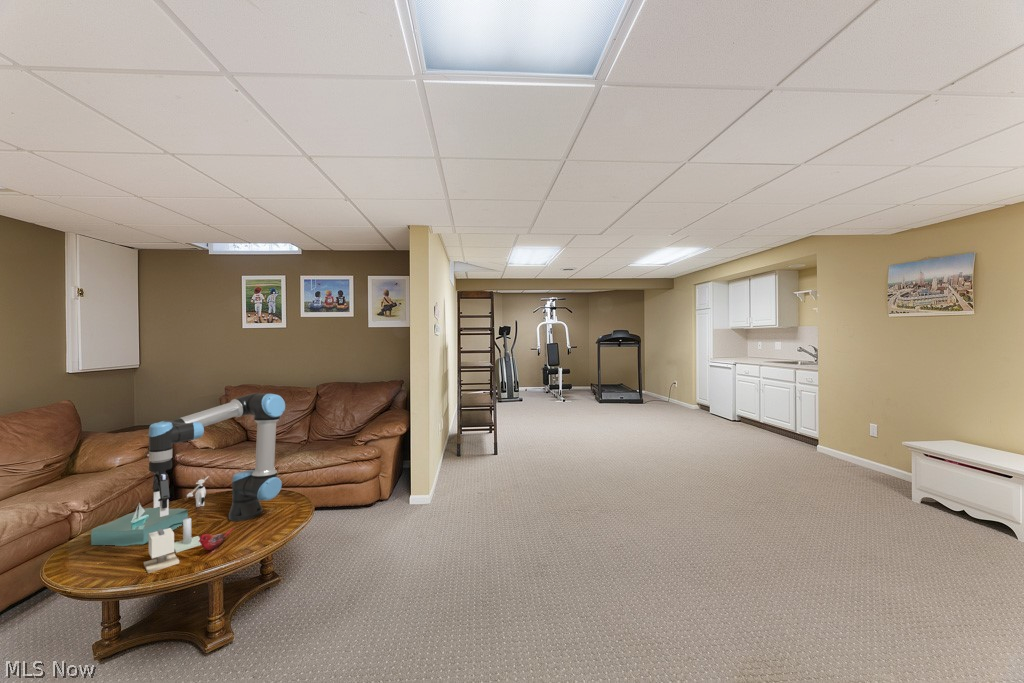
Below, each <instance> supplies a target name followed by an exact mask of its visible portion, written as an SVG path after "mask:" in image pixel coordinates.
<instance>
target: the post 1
mask: <svg viewBox="0 0 1024 683" xmlns="http://www.w3.org/2000/svg"><path fill="white" fill-rule="evenodd" d="M178 564H180V559H179V558H178V556H177V555H176V553H175V552H172V553H169V554H166V555H162V556H159V557H156V558H151V559H150V560H147V561H146V560H145V561H143V566H144V568H145V570H146V573H147V574H150V573H153V572H157V571H160V570H164V569H165V568H169V567H172V566H176V565H178Z"/></svg>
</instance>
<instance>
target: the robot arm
mask: <svg viewBox="0 0 1024 683" xmlns="http://www.w3.org/2000/svg"><path fill="white" fill-rule="evenodd" d="M285 411H286V402H285V400H284V399H283V397H282V396H281V395H279V394H276V393H275V394H274V393H263V392H254V393H249V394H246V395H243V396H239V397H237V398H233V399H231V400H230V401H229V402H227V403H224V404H220V405H216V406H213V407H211V408H208V409H205V410H202V411H199V412H195V413H192V414H188V415H185V416H182V417H179V418H175V419H172V420H162V421H159V422H154V423H151V425H149V428H148V453H147V454H146V456H147V457H148V460H149V463H148V471H149V472H150V473H151V472H152V473H153V479H152V480H153V481H152V488H151V489H152V491H153V508H160V517H162V516H166V515H169V509H170V508H169V504H170V503H169V502H170V500H169V499H170V498H171V496H170V488H169V474H168V473H167V472H166V471H167V470H171V469H172V468H173V459H172V458H173V445H174V444H178V443H182V442H183V443H184V442H187V441H194V440H197V439H200V438H202V437H203V436H204V433H205V428H204V427H207V426H210V425H213V424H216V423H217V424H218V423H219V422H222V421H225V420H228V419H231V418H234V417H236V418H239V417H241V418H242V417H243V416H253V421H254V422H255V423H256V424H257V426H256V443H255V444H256V446H255V467H254V468H255V469H248V470H243V471H239V472H236V473H235V474H233V476H232V477H231V478H232V479H231V485H232V491H231V492H232V503H231V507H230V510H229V513H228V520H230V521H231V522H243V520H244V521H247V520H248V519H249V520H252V519H254V518H257V517H260V516H261V515H262V514H261V513H263V507H262V504H261V502H260V501H271V500H273V499H274V498H276V497H277V496H278V494H279V493H280V491H281V490H282V487H283V486H282V485H283V482H282V480H281V479H280V478H279V477H278V470H277V469H276V468H275V461H276V460H275V458H276V456H275V455H276V438H277V436H276V435H277V422H279V420H280V418H281V416H282V415H283V413H284V412H285ZM260 514H261V515H260Z"/></svg>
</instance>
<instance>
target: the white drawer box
mask: <svg viewBox="0 0 1024 683" xmlns="http://www.w3.org/2000/svg"><path fill="white" fill-rule="evenodd" d="M174 543H175V532H174V531H173V530H172V529H171V528H168V529H164V530H163V529H158V531H156V532H153V533H149V542H148V554H149V556H150V558H151V559H156V558H157V557H159V556H162V555H169V554H172V553H175V550H174Z"/></svg>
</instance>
